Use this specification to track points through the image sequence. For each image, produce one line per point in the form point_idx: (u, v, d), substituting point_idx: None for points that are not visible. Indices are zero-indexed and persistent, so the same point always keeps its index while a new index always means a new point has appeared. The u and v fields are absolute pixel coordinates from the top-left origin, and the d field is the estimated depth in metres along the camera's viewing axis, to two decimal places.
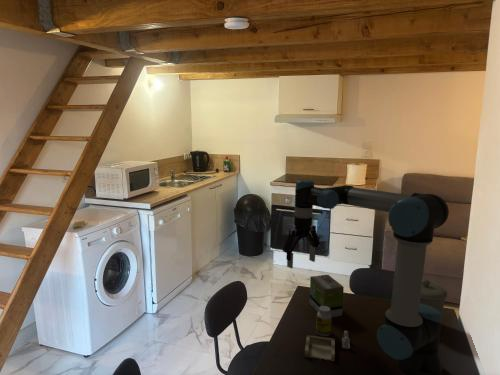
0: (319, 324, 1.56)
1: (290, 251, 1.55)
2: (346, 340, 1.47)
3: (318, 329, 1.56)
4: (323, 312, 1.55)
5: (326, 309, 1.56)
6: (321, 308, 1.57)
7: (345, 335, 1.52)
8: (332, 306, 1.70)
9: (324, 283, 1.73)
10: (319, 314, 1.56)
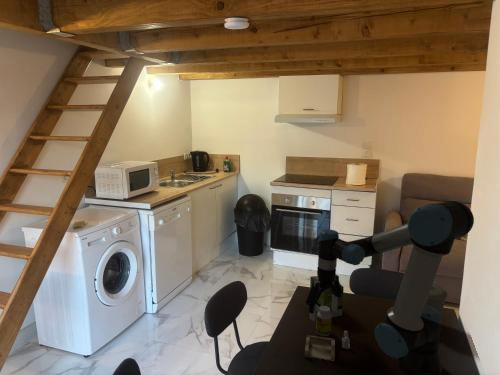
0: (319, 324, 1.56)
1: (313, 304, 1.50)
2: (346, 340, 1.47)
3: (318, 329, 1.56)
4: (323, 312, 1.55)
5: (326, 309, 1.56)
6: (321, 308, 1.57)
7: (345, 335, 1.52)
8: None
9: None
10: (319, 314, 1.56)
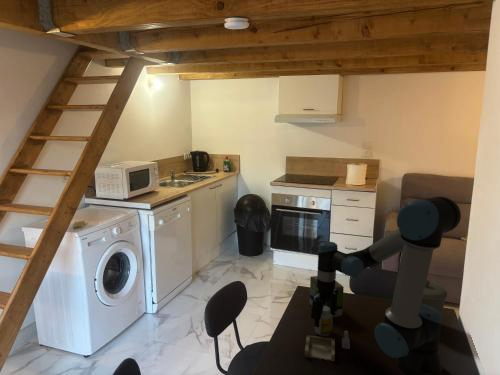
0: None
1: (318, 318, 1.53)
2: (346, 340, 1.47)
3: None
4: (323, 312, 1.55)
5: (326, 309, 1.56)
6: None
7: (345, 335, 1.52)
8: None
9: None
10: None
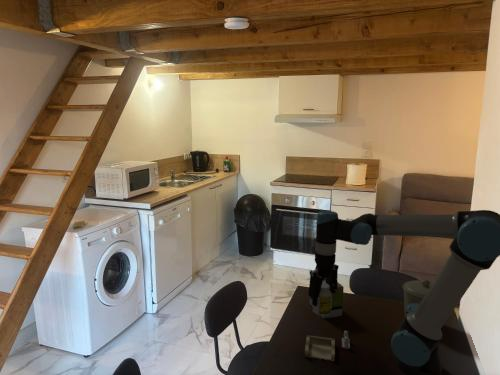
0: None
1: (316, 296, 1.38)
2: (346, 340, 1.47)
3: None
4: (322, 289, 1.39)
5: (325, 286, 1.41)
6: None
7: (345, 335, 1.52)
8: (332, 306, 1.70)
9: None
10: None
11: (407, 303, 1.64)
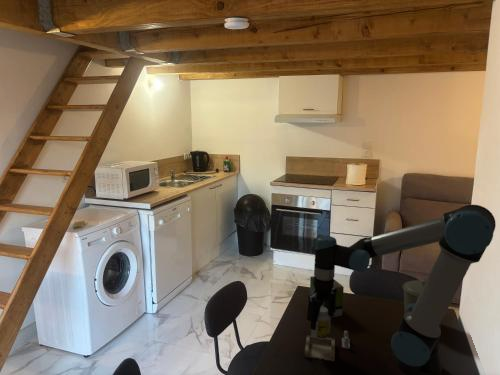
0: None
1: (315, 320, 1.39)
2: (346, 340, 1.47)
3: None
4: (320, 313, 1.41)
5: (323, 310, 1.42)
6: None
7: (345, 335, 1.52)
8: None
9: None
10: None
11: (407, 303, 1.64)
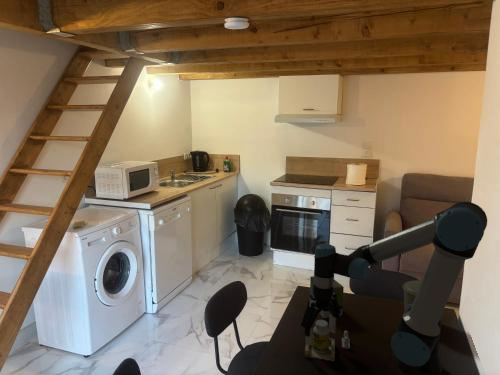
0: (316, 340, 1.42)
1: (309, 326, 1.38)
2: (346, 340, 1.47)
3: (315, 346, 1.43)
4: (320, 327, 1.42)
5: (323, 324, 1.43)
6: (318, 323, 1.43)
7: (345, 335, 1.52)
8: (332, 306, 1.70)
9: None
10: (316, 329, 1.43)
11: (407, 303, 1.64)
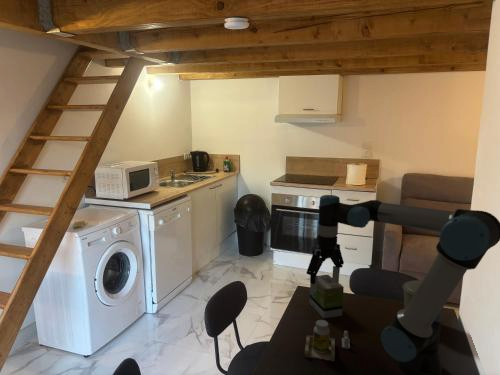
0: (316, 340, 1.42)
1: (315, 274, 1.42)
2: (346, 340, 1.47)
3: (315, 346, 1.43)
4: (321, 327, 1.42)
5: (324, 324, 1.43)
6: (318, 323, 1.43)
7: (345, 335, 1.52)
8: (332, 306, 1.70)
9: (324, 283, 1.73)
10: (316, 329, 1.43)
11: (407, 303, 1.64)
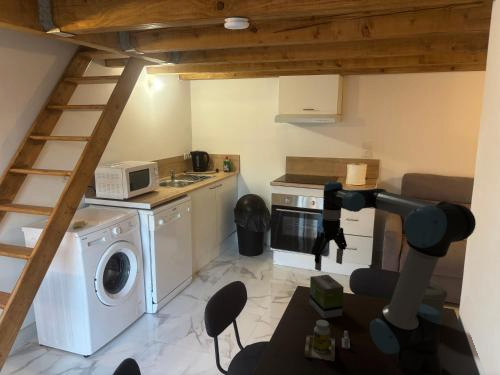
0: (317, 340, 1.42)
1: (319, 254, 1.54)
2: (346, 340, 1.47)
3: (316, 346, 1.43)
4: (321, 327, 1.42)
5: (324, 324, 1.43)
6: (319, 323, 1.44)
7: (345, 335, 1.52)
8: (332, 306, 1.70)
9: (324, 283, 1.73)
10: (317, 329, 1.43)
11: None
